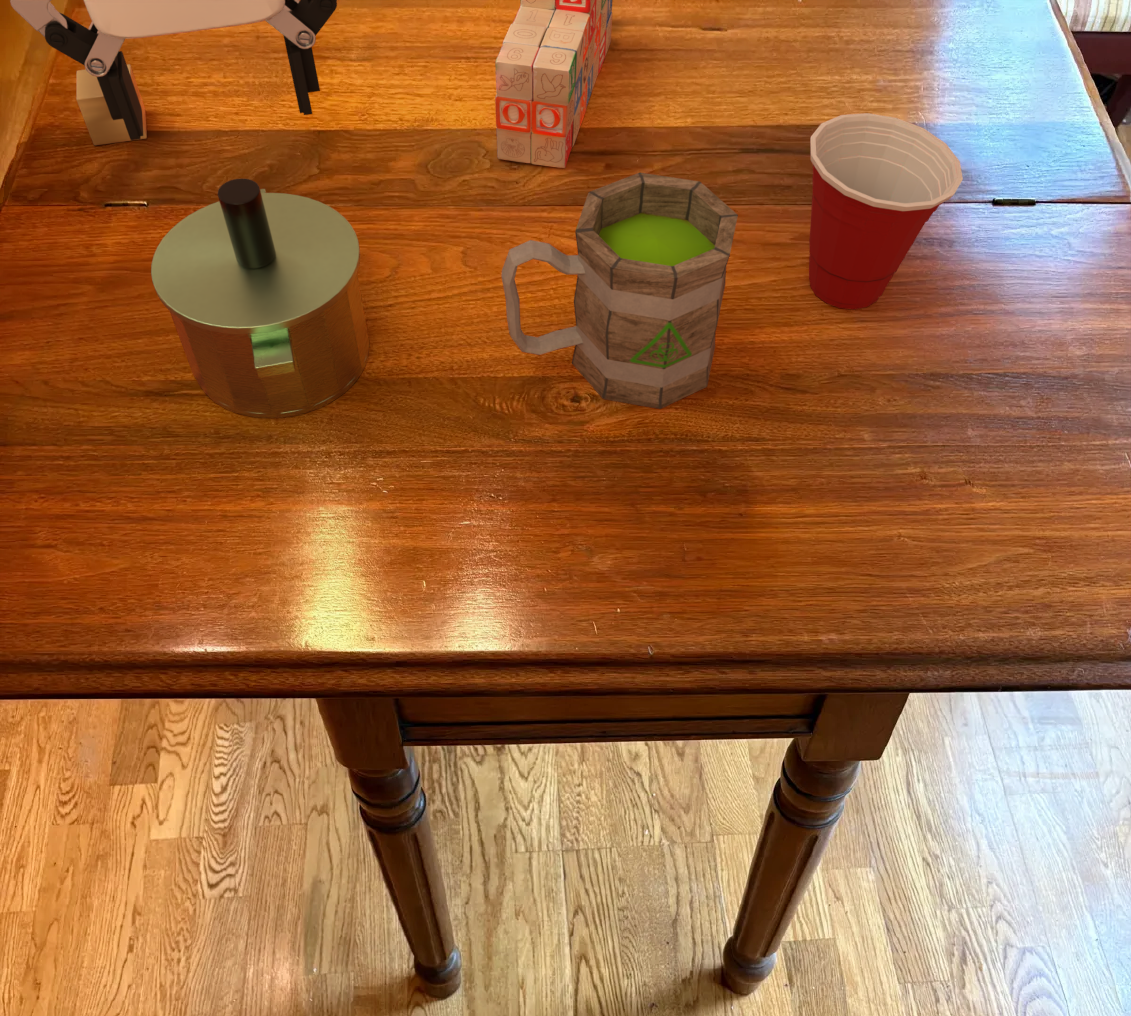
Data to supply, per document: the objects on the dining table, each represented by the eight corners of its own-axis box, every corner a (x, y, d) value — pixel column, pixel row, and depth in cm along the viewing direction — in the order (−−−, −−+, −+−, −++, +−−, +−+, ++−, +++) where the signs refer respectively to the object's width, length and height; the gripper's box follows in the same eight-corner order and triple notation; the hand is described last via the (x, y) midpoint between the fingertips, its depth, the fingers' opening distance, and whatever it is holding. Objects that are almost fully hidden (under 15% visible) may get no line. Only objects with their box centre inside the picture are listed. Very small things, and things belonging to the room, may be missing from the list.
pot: (202, 462, 73) (167, 374, 66) (187, 287, 83) (155, 195, 76) (388, 428, 75) (372, 339, 68) (350, 261, 85) (334, 169, 78)
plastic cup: (934, 331, 82) (987, 199, 72) (793, 336, 81) (827, 204, 71) (898, 238, 88) (942, 106, 78) (767, 242, 87) (795, 109, 78)
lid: (160, 357, 67) (128, 279, 62) (152, 222, 75) (123, 143, 70) (376, 321, 70) (363, 242, 65) (346, 193, 78) (332, 114, 72)
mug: (697, 298, 83) (717, 165, 74) (734, 400, 77) (761, 269, 67) (495, 319, 81) (488, 186, 72) (515, 426, 75) (511, 295, 65)
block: (93, 146, 94) (75, 99, 90) (93, 116, 96) (76, 70, 93) (147, 139, 94) (131, 92, 91) (145, 110, 97) (130, 63, 93)
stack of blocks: (567, 171, 93) (569, 35, 83) (496, 161, 93) (490, 25, 83) (611, 41, 105) (618, -91, 95) (548, 33, 106) (549, -99, 96)
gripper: (307, -265, 53) (359, 60, 67) (-65, -233, 50) (68, 100, 64) (328, -207, 49) (378, 128, 62) (-79, -167, 46) (67, 175, 60)
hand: (221, 114), depth 63 cm, fingers open, 9 cm apart
